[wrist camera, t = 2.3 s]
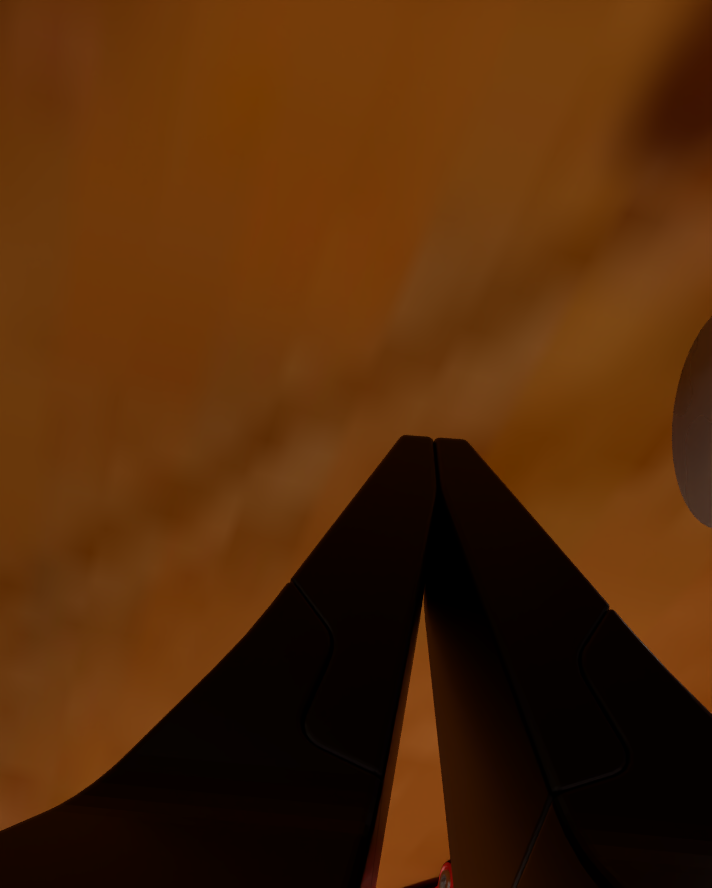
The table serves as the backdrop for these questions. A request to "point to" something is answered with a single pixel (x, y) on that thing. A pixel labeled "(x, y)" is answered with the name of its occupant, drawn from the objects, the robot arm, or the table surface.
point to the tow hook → (445, 877)
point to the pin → (695, 428)
